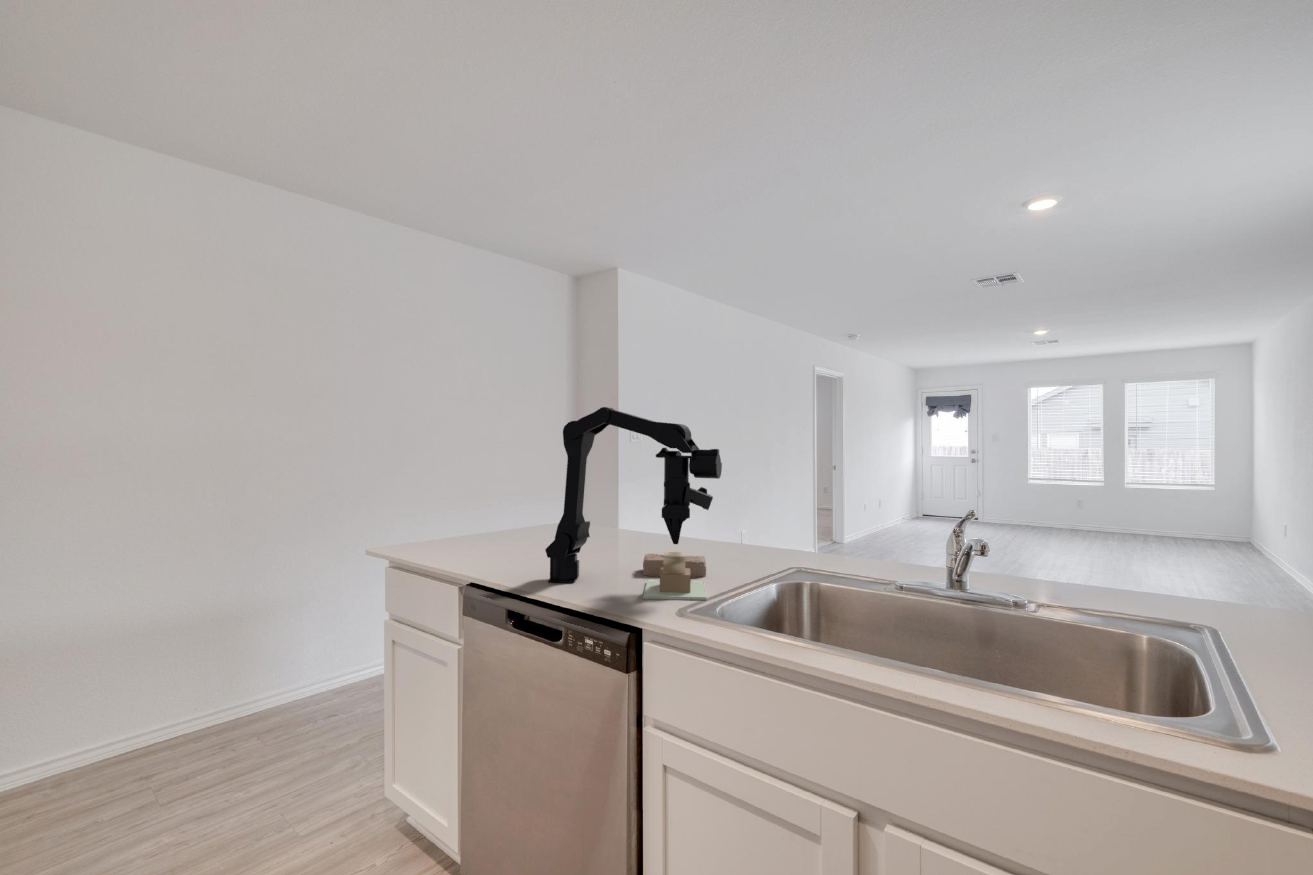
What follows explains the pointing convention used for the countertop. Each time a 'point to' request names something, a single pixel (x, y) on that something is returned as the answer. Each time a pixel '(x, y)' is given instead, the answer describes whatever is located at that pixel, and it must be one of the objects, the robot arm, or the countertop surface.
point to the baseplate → (683, 596)
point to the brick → (655, 561)
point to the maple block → (674, 563)
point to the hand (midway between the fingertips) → (675, 544)
